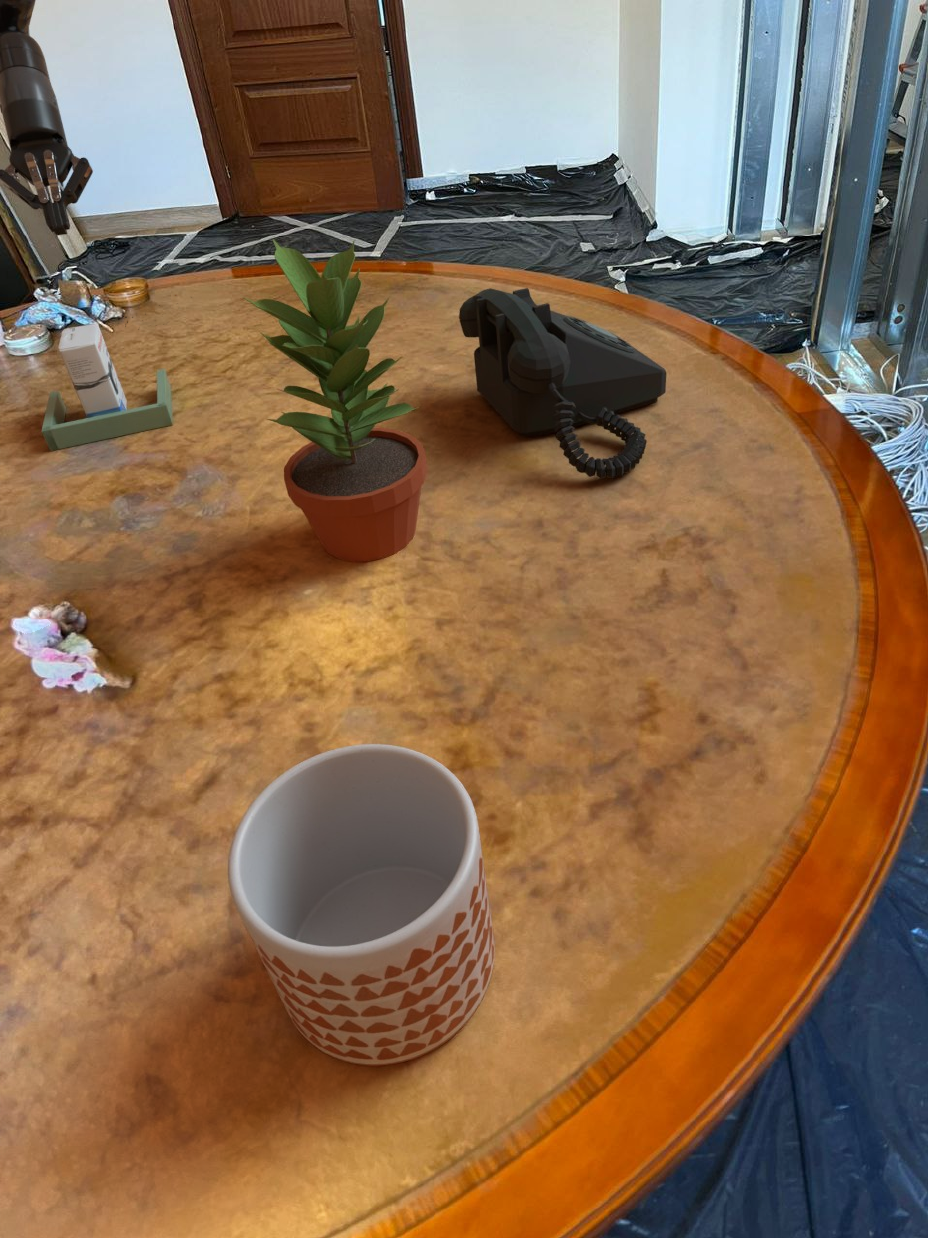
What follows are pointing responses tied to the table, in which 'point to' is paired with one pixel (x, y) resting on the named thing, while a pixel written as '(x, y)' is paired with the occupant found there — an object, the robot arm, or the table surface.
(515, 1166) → the table surface
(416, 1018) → the planter
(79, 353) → the ink box
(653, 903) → the table surface
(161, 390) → the bracket
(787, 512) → the table surface
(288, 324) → the potted plant
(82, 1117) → the table surface
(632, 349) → the rotary telephone
